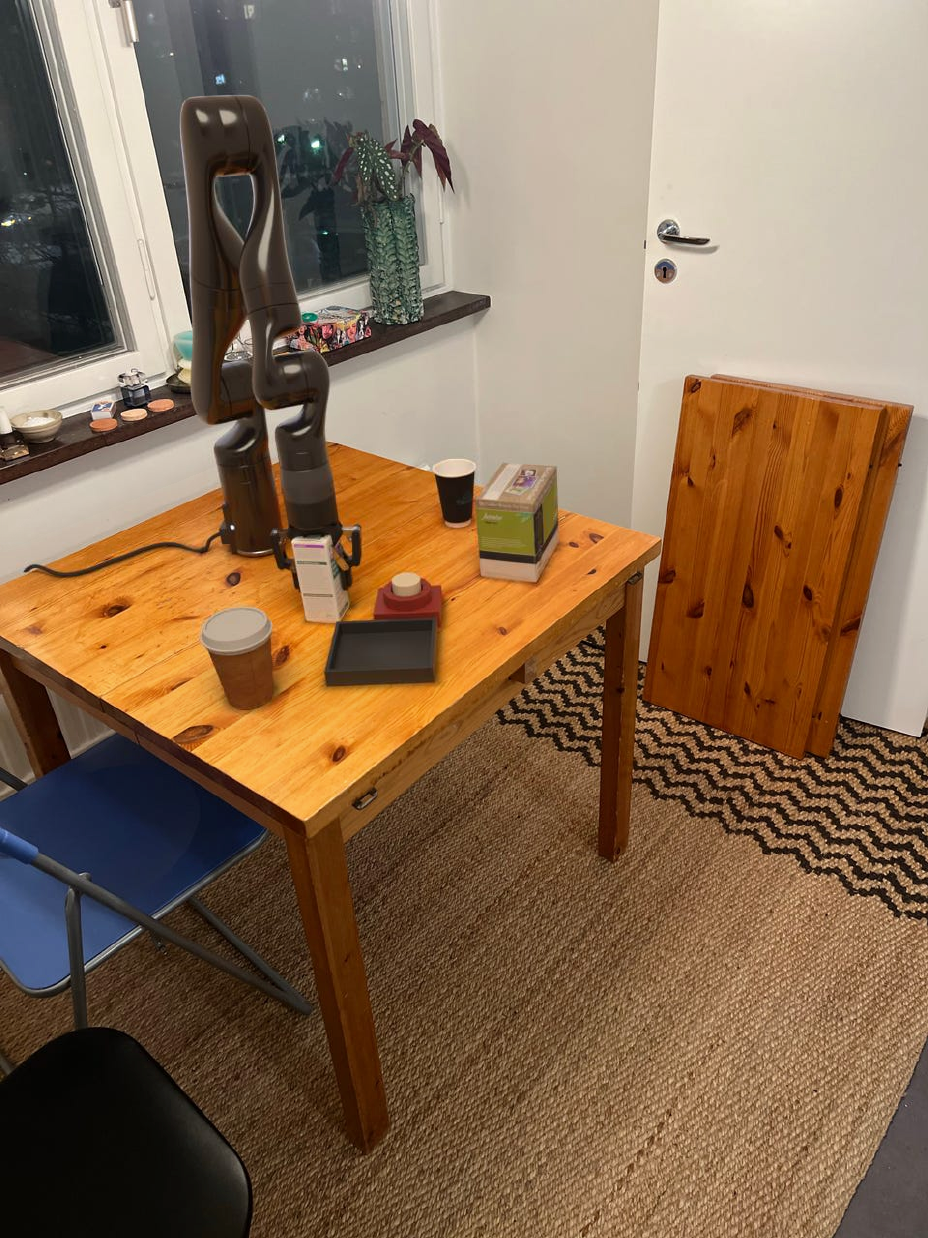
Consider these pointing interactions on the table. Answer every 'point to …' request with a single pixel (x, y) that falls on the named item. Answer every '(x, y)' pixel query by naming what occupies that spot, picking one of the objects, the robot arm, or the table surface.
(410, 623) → the tray
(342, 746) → the table surface
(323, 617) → the syrup box
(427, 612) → the red square pod holder
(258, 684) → the disposable coffee cup
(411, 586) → the button
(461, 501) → the dixie cup
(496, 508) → the tea box
